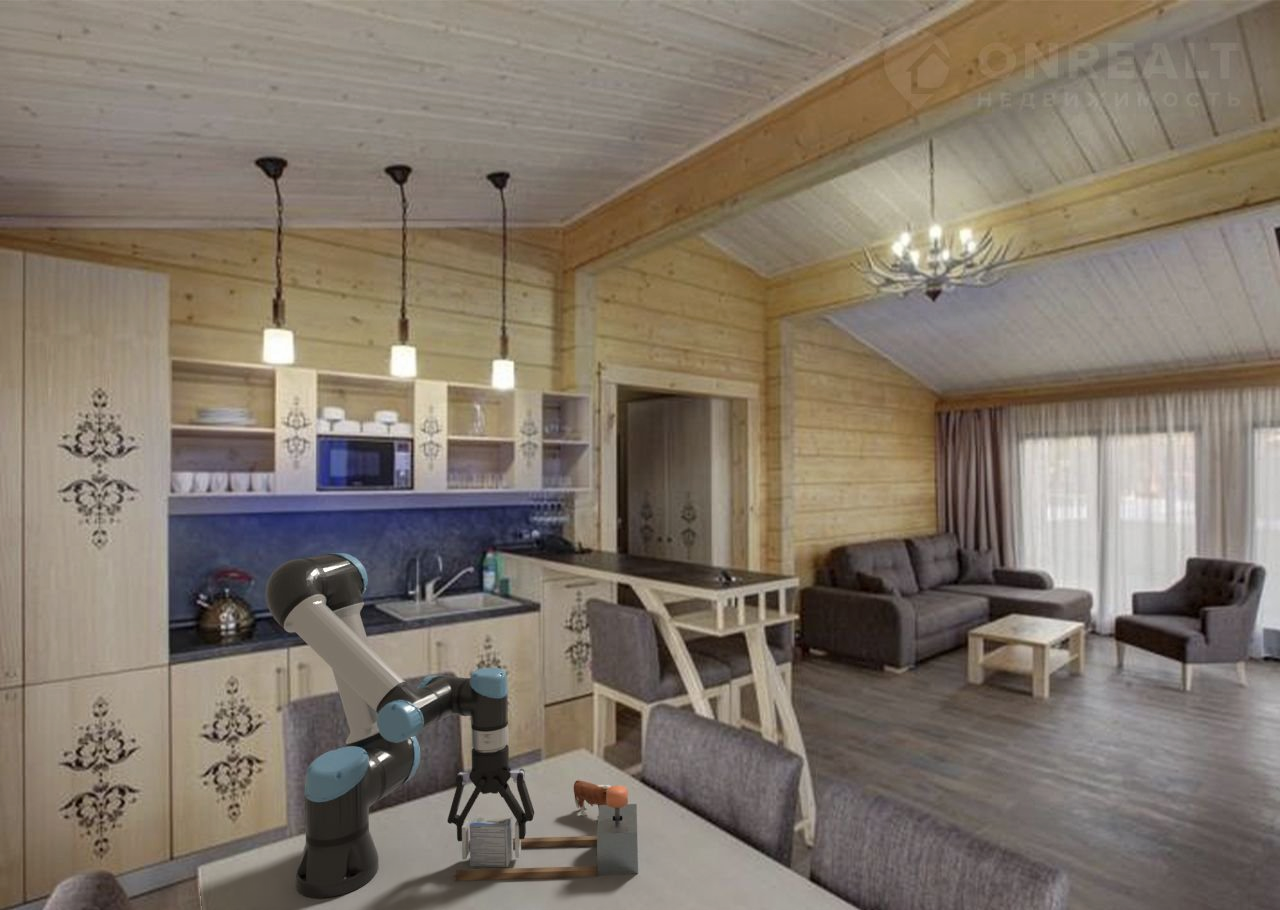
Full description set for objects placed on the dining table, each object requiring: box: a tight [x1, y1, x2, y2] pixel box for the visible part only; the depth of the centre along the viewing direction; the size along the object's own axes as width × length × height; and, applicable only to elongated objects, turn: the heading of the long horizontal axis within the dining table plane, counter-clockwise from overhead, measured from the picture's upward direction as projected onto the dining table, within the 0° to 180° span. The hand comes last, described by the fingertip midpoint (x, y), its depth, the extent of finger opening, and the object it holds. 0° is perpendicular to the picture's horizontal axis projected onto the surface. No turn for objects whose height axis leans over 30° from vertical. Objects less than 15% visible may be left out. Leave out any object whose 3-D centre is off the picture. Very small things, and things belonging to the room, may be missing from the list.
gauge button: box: [606, 785, 629, 821], centre depth 145 cm, size 4×4×6 cm
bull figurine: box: [573, 779, 612, 817], centre depth 162 cm, size 4×13×8 cm, turn 53°
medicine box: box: [469, 813, 514, 868], centre depth 144 cm, size 8×4×9 cm, turn 84°
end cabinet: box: [596, 803, 639, 876], centre depth 144 cm, size 8×12×8 cm, turn 1°
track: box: [454, 835, 599, 882], centre depth 144 cm, size 28×13×1 cm, turn 91°
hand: (491, 855), depth 144 cm, fingers open, 10 cm apart
